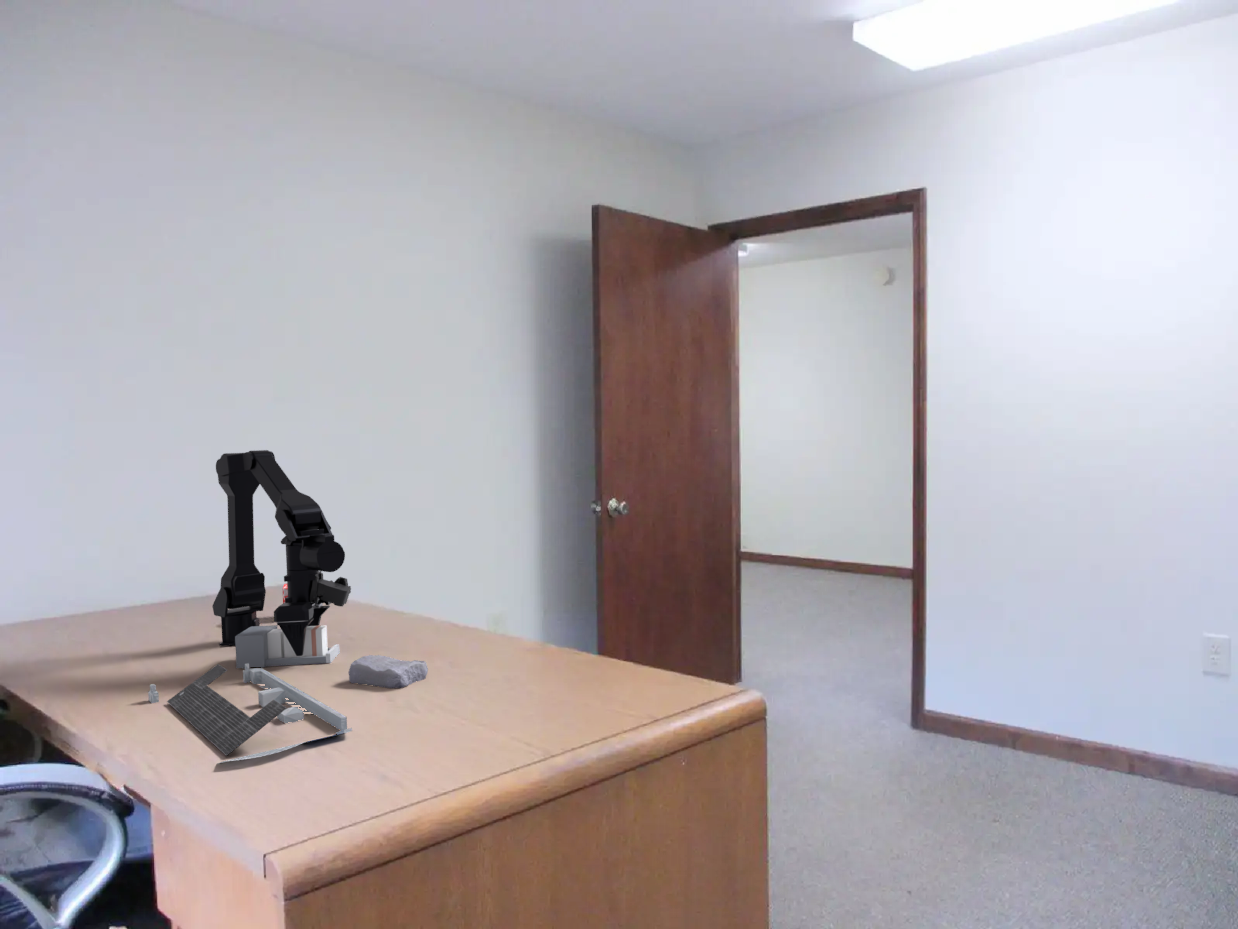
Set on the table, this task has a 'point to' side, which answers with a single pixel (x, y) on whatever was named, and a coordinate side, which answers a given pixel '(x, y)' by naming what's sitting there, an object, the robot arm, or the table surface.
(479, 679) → the table surface
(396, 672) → the stone block
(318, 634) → the white banded block
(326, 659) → the grey frame stand
